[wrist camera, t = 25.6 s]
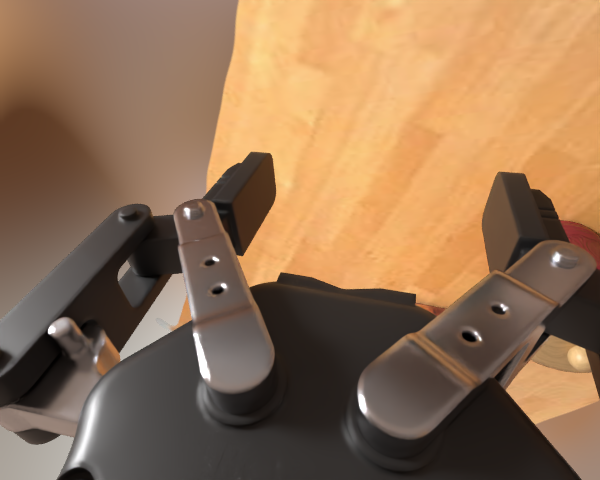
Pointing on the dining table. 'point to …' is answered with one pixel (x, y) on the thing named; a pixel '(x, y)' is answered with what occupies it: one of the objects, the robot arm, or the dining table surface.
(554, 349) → the kitchen canister
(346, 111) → the dining table surface
